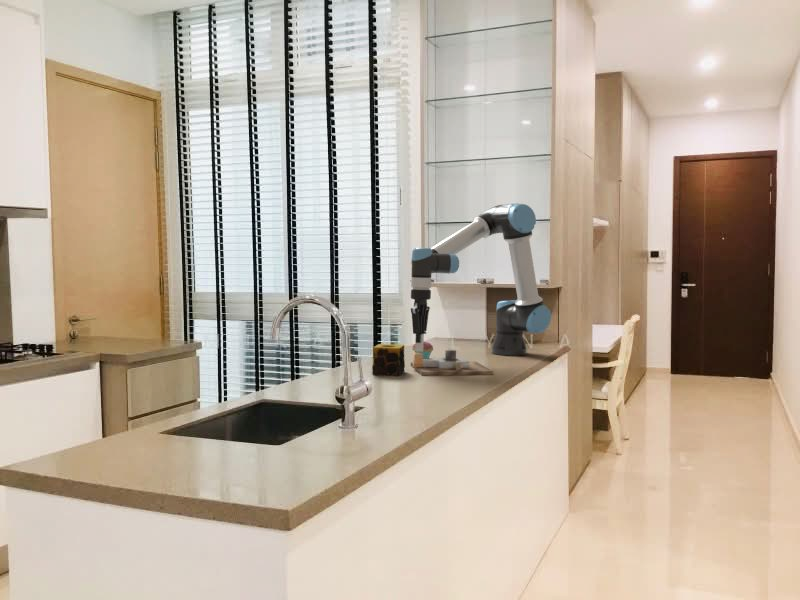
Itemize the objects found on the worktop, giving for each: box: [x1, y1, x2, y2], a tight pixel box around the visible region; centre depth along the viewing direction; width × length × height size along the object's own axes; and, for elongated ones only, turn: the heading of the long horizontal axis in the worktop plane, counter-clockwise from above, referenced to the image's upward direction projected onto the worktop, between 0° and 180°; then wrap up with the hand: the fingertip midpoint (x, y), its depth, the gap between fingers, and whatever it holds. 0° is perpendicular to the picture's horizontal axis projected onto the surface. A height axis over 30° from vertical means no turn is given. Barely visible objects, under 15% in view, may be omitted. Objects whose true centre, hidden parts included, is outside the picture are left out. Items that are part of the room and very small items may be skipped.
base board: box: [410, 349, 494, 376], centre depth 269 cm, size 26×22×7 cm
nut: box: [412, 352, 470, 369], centre depth 269 cm, size 20×11×5 cm, turn 100°
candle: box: [371, 343, 406, 377], centre depth 260 cm, size 10×10×10 cm
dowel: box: [456, 362, 462, 371], centre depth 261 cm, size 2×2×3 cm
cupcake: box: [411, 341, 434, 359], centre depth 295 cm, size 9×8×12 cm
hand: (419, 351), depth 274 cm, fingers closed
